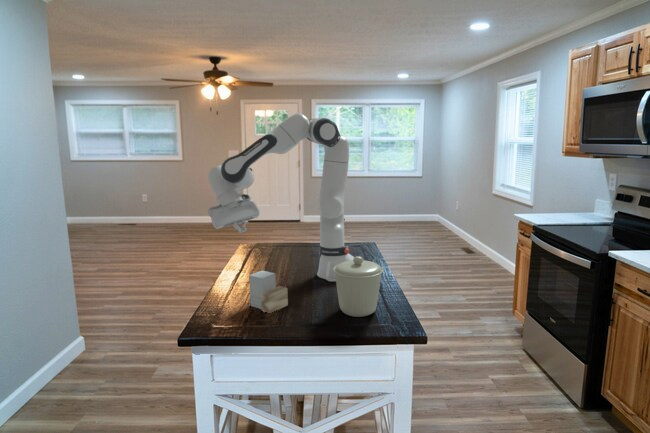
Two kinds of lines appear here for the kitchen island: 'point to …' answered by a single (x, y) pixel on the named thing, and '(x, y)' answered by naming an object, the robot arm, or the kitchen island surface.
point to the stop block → (274, 299)
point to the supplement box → (260, 286)
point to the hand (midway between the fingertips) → (243, 231)
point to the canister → (358, 286)
